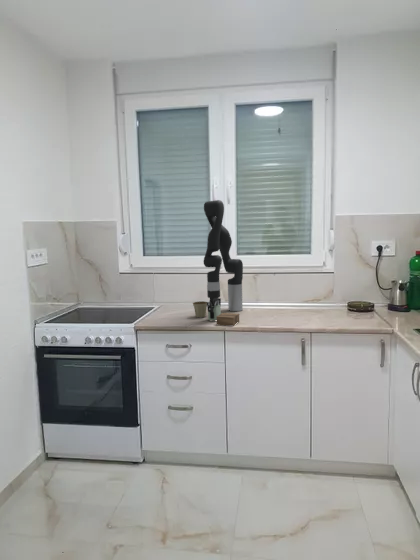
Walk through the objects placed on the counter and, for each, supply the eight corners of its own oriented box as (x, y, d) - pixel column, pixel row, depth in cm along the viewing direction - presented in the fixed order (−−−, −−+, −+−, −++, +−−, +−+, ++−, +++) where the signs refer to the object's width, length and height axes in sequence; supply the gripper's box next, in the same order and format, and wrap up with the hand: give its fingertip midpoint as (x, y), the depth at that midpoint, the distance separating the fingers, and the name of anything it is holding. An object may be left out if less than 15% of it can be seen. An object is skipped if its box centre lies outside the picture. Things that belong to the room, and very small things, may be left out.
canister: (212, 318, 251) (211, 304, 250) (221, 319, 248) (220, 304, 247) (208, 320, 246) (207, 305, 245) (216, 321, 243) (216, 306, 242)
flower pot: (195, 318, 251) (194, 304, 250) (191, 315, 260) (190, 302, 259) (210, 317, 254) (209, 303, 252) (206, 314, 263) (205, 300, 261)
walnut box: (223, 321, 244) (222, 312, 244) (239, 322, 240) (239, 313, 240) (216, 325, 235) (216, 316, 235) (233, 326, 231) (233, 317, 231)
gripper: (213, 287, 253) (214, 314, 255) (202, 290, 240) (203, 319, 242) (224, 287, 249) (225, 315, 252) (214, 291, 237) (214, 320, 239)
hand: (214, 317), depth 247 cm, fingers open, 5 cm apart
